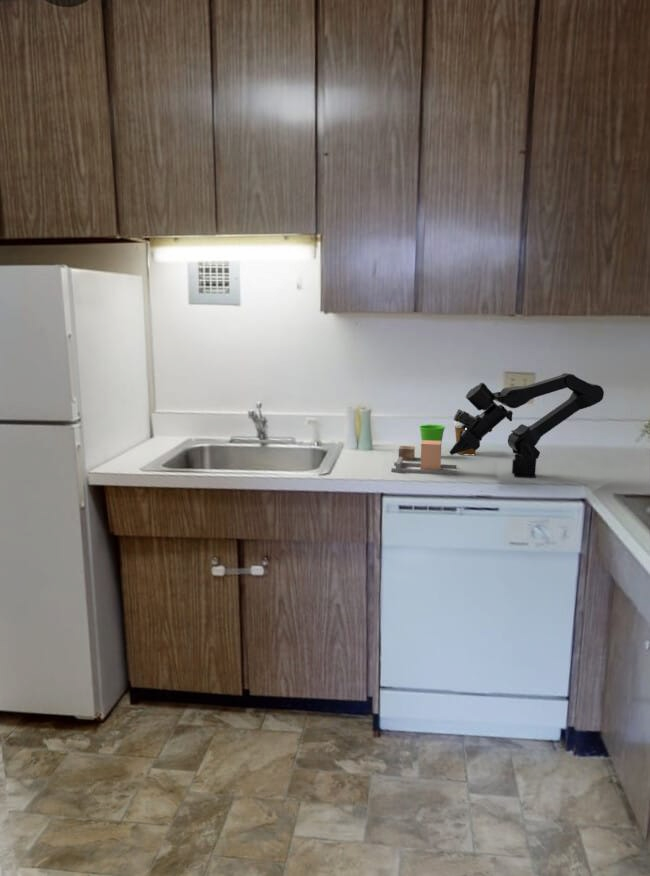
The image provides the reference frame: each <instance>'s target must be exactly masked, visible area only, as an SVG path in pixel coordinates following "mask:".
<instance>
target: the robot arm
mask: <svg viewBox="0 0 650 876" xmlns="http://www.w3.org/2000/svg"><path fill="white" fill-rule="evenodd" d="M564 389H568V390H570V391H571V392H572V393H571V394H570V396H569V398H568V399H566V401H564V402H562V403H561V404H559V406H557V407H555V408H554V409H552V410H551V411H550V412H548V413H546V415H544V416H542V417H541V418H540V419H538V420H537V421H535V422H534V423H533V424H531V425H528V426H527V425H526V424H523V423H521V424H520V425H519V426H518V427H516V428H515V429H513V430H511V433H510V434H509V435H508V438H507V444H508V446H509V448H511V450H512V454H514V458H513V459H512V463H511V472H512V474H513V477H515V478H520V477H521V478H537V475H536V474H537V473H536V472H537V470H536V468H537V467H536V466H537V459H538V458H539V457H540V454H541V451H540V450H538V448H537V447H536V446H537V444H538V443H539V442H540V439H541V438H542V437H543V436H544V435H545V434H547V433H549V432H550V431H551V430H553V429H554V428H555V427H557V426H559V425H560V424H562V423H563V422H564V421H565V420H567V419H568V418H569V417H571V416H573V415H574V414H575V413H577V412H578V411H580V410H583V409H587V408H590V407H592V406H595V405H597V404H598V403H600V402H601V401H603V399H604V395H605V390H604V389H603V388H602V386H601V385H599V384H595V383H590V382H587V381H585V380H583V379H581V378H579V377H578V376H575V374H572V373H568V372H563V373H562V374H559V375H557V376H554V377H551V378H547V379H544V380H541V381H537V382H535V383H531V384H528V385H521V386H520V385H518V386H517V385H516V386H509V387H508V386H507V387H504V388H502V389H501V391H496V392H492V391H491V390H490V389H489V388H488V386H487V385H486V384H485V382H480V383H479V384H477V385H476V386H474V387H473V388H471V389H469V391H468V392H467V393H466V395H465V399H467V400H468V401H469V403H471V405H472V406H473V407H474V408H476V410H478V411H482V412H481V414H477V415H475V416H474V415H471V414H470V413H469V412H466V411H465V410H461V409H457V411H456V413H455V414H454V417H453V421H454V422H455V421H457V422H460V423H462V424H463V425H462V426H461V428H462V429H463V428H464V429H465V430H464V431H463V432H462V431H461V430H460V438H459V440H458V441H457V442H456V441H455V444H454V445H453V446H452V448H451V449H450V451H449V454H450V455H451V456H452V455H456V454H458V453H459V452H462V451H465V450H468V449H471V448H473V450H475V452H476V451H477V450H478V449H479V448H481V441H483V438H484V437H485V436H486V435H487V434H488V433H492V431H493V429H494V428H495V427H497V425H499V424H500V423H501V422H502V421H504V419H505V418H506V419H507V420H508V421H509V422H512V421H513V414H514V412H513V411H512V410H508V409H507V408H506V407H508V408H510V409H518V408H520V407H522V406H523V405H525V404H527V403H529V402H530V401H531V400H533V399H535V398H538V397H541V396H542V397H543V396H544V395H547V394H552V393H553V392H557V391H560V390H564ZM496 402H498V403H500V404H499V405H498V404H497V403H496Z"/></svg>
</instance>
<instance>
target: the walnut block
mask: <svg viewBox="0 0 650 876" xmlns="http://www.w3.org/2000/svg"><path fill="white" fill-rule="evenodd" d="M415 449H416V448H415V446H414V445H413V446H412V445H410V446H409V445H400V446H399V447H398V458H399V457H403V461H412V462H414V460H415Z"/></svg>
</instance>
